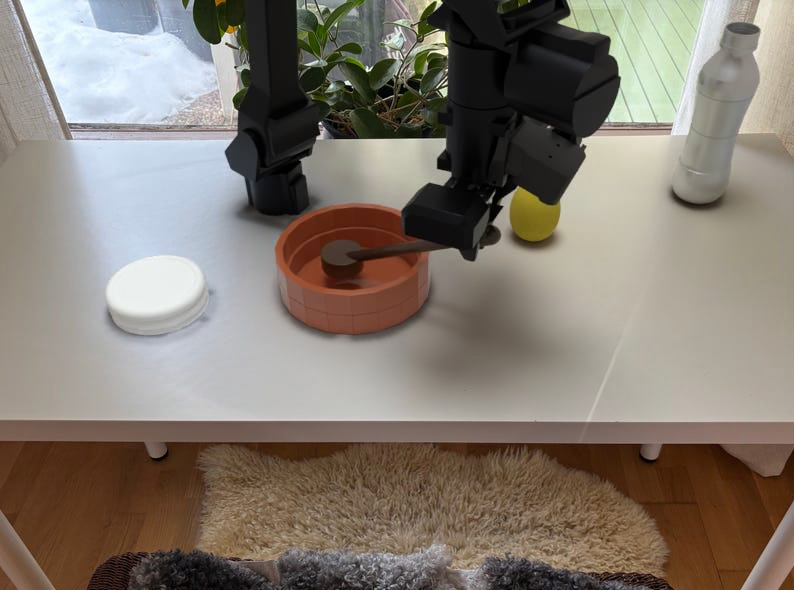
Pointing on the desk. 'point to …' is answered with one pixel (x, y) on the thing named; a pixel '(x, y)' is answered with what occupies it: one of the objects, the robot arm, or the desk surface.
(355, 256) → the brown utensil
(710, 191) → the plastic bottle
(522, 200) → the lemon
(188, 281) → the white round lid
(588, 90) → the robot arm
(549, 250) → the desk surface
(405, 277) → the bowl
